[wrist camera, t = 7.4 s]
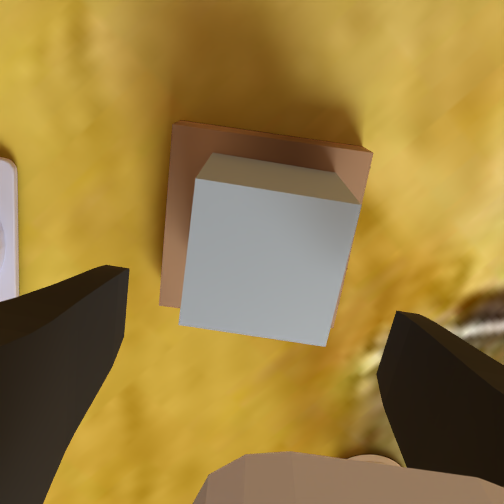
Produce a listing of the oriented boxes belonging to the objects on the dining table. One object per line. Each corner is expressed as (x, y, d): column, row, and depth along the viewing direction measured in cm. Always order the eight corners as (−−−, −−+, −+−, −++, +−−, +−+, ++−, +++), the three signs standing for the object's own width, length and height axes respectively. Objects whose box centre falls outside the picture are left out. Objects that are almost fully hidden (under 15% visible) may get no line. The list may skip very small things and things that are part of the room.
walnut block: (169, 282, 23) (158, 305, 20) (182, 119, 20) (172, 124, 18) (325, 303, 23) (332, 328, 21) (359, 145, 20) (373, 152, 18)
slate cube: (198, 266, 20) (178, 324, 15) (212, 152, 18) (195, 178, 13) (310, 284, 20) (325, 346, 15) (335, 172, 18) (361, 205, 13)
